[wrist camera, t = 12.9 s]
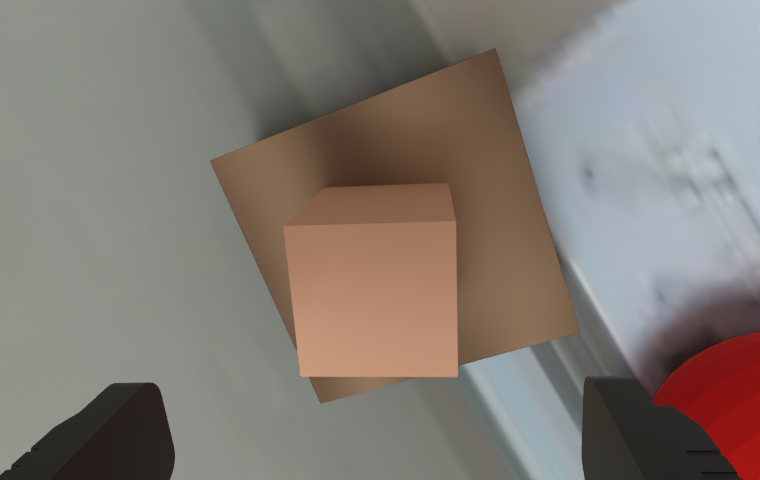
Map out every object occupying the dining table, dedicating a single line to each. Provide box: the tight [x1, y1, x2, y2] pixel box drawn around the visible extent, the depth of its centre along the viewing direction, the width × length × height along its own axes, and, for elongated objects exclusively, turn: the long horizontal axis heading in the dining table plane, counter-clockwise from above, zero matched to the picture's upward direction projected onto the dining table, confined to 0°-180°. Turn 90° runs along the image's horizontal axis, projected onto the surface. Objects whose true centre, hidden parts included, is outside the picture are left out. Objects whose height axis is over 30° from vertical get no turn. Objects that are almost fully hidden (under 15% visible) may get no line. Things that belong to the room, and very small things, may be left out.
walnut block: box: [210, 48, 580, 403], centre depth 24 cm, size 12×12×6 cm
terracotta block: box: [283, 183, 458, 377], centre depth 18 cm, size 5×5×6 cm
